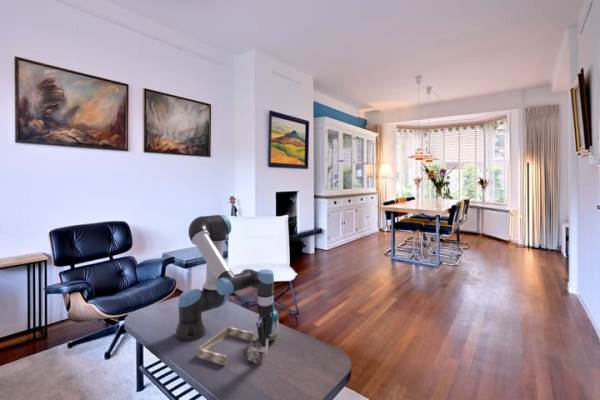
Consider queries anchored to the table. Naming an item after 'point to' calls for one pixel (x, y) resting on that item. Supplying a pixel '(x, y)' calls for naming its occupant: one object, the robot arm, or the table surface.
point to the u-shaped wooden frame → (216, 357)
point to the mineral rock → (254, 351)
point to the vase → (274, 325)
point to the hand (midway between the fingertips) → (264, 351)
